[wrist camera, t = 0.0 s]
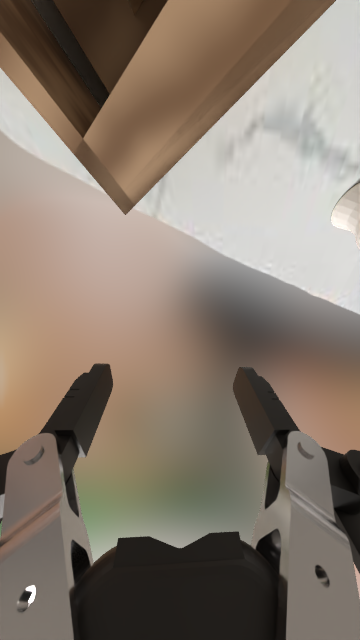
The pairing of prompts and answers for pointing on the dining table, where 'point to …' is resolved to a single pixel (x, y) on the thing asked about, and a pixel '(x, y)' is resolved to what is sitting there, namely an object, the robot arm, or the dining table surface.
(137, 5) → the block
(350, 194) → the cup
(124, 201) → the access box
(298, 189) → the dining table surface
